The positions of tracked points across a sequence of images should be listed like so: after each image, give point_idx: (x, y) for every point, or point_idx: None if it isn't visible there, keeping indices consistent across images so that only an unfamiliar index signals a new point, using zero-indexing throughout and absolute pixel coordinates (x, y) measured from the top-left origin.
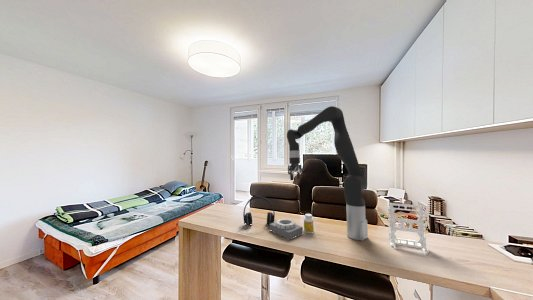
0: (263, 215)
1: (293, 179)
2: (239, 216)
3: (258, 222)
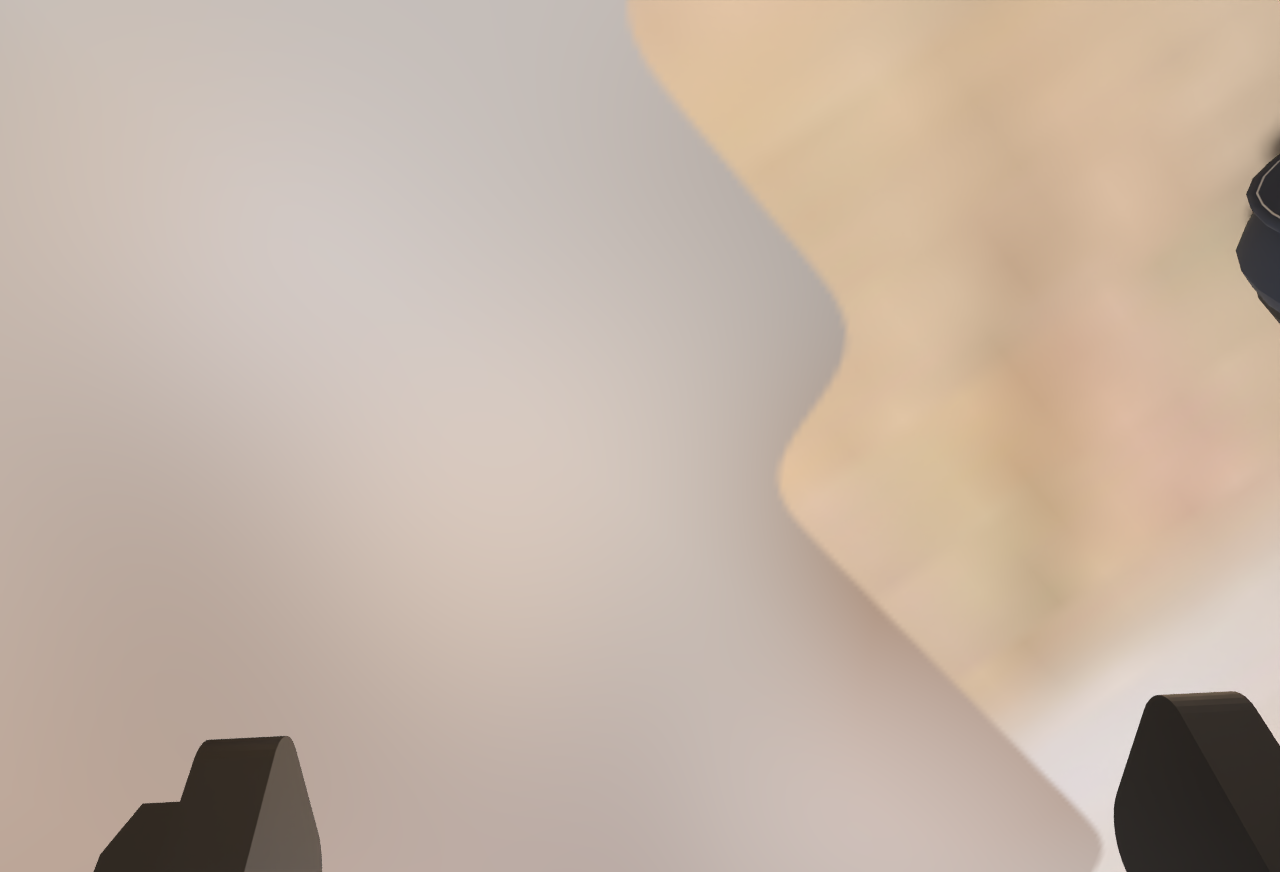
0: (913, 584)
1: (1192, 719)
2: None
3: (1275, 420)
